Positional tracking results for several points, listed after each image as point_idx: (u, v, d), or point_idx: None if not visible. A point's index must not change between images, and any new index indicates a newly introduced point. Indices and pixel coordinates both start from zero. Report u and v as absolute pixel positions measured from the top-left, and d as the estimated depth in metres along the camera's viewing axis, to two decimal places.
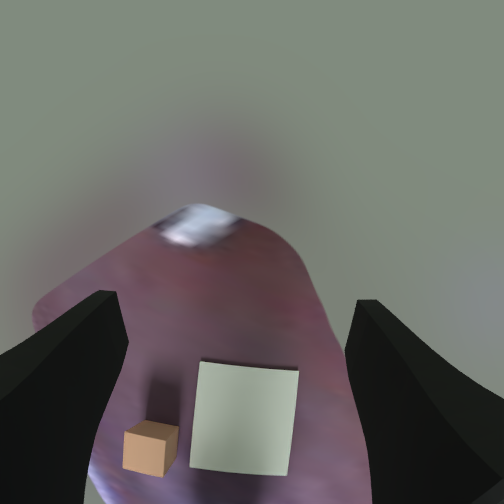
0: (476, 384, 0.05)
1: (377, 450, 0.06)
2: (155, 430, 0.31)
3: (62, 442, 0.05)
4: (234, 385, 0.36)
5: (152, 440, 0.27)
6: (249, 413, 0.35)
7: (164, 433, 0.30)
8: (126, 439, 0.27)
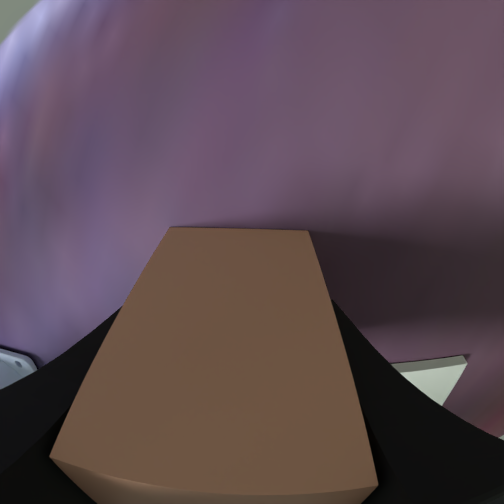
0: (423, 394, 0.05)
1: None
2: None
3: None
4: None
5: None
6: None
7: None
8: (311, 499, 0.03)
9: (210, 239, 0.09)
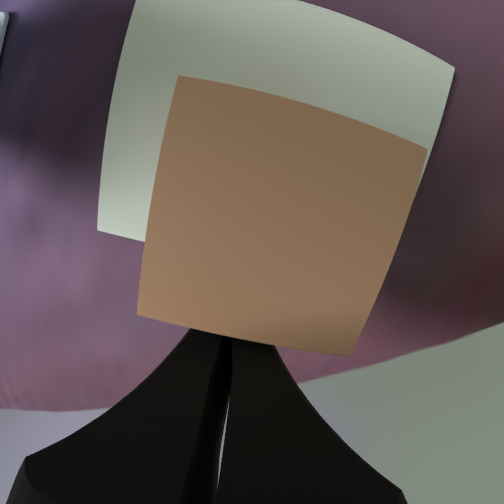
0: (306, 405, 0.05)
1: None
2: None
3: (212, 471, 0.05)
4: None
5: (361, 297, 0.06)
6: None
7: None
8: (385, 146, 0.05)
9: None
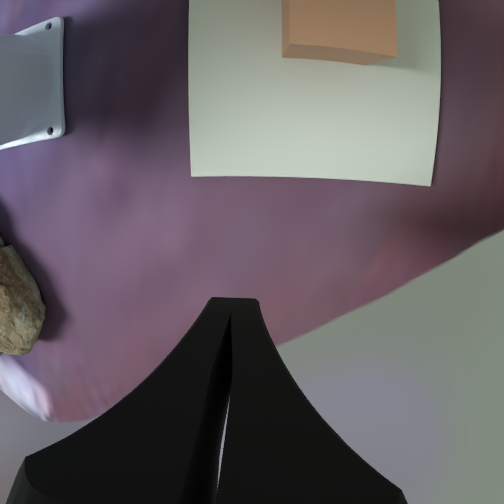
0: (306, 405, 0.05)
1: None
2: None
3: (212, 471, 0.05)
4: (403, 54, 0.14)
5: None
6: (346, 81, 0.15)
7: None
8: None
9: None
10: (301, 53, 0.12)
